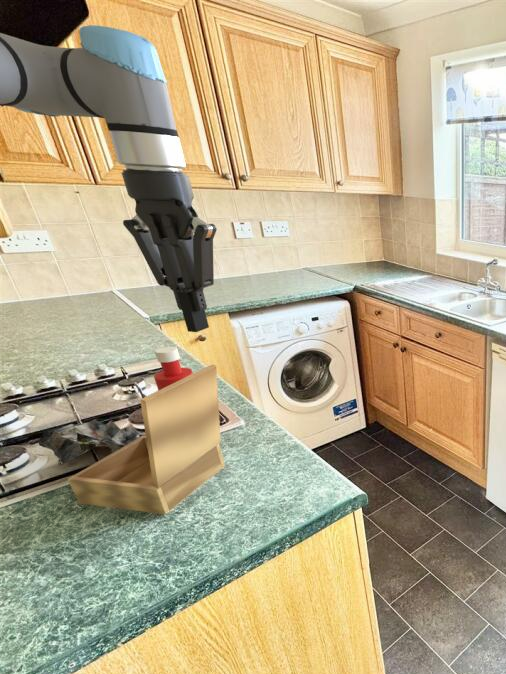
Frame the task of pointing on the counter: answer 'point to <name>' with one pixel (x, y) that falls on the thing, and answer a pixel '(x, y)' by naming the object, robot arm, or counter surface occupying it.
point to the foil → (86, 438)
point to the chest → (140, 480)
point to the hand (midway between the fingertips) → (198, 329)
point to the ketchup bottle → (169, 367)
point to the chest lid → (181, 423)
